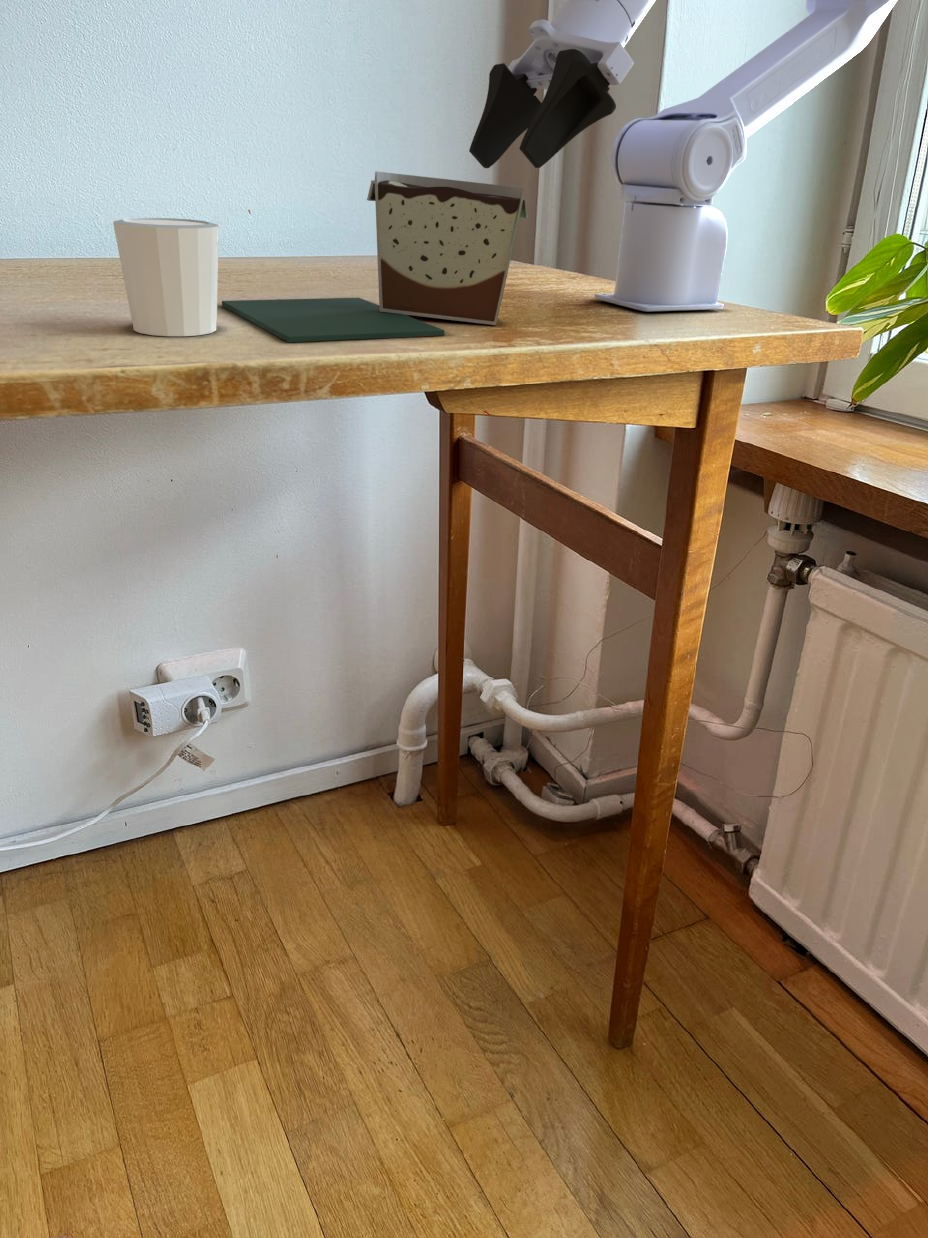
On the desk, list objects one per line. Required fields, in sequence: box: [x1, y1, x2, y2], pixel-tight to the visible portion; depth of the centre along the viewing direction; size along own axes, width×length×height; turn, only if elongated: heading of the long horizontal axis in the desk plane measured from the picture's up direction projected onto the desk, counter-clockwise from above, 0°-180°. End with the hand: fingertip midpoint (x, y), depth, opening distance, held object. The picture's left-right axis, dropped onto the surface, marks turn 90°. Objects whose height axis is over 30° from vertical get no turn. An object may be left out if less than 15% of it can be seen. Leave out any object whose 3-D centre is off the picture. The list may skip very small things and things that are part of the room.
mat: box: [221, 297, 445, 343], centre depth 73 cm, size 12×16×1 cm
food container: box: [366, 170, 529, 326], centre depth 75 cm, size 12×6×10 cm, turn 84°
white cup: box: [112, 217, 220, 337], centre depth 65 cm, size 7×7×7 cm
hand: (503, 158), depth 75 cm, fingers open, 7 cm apart
